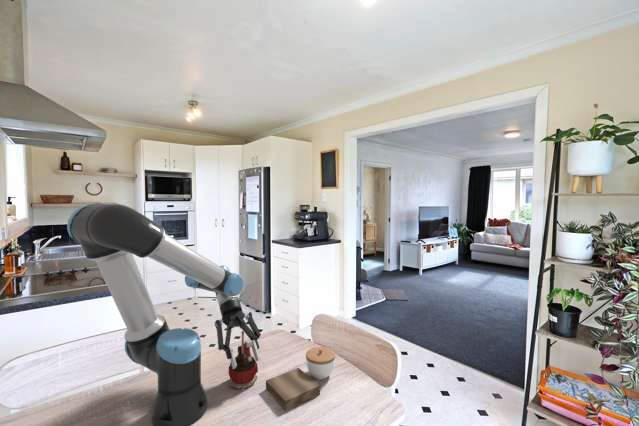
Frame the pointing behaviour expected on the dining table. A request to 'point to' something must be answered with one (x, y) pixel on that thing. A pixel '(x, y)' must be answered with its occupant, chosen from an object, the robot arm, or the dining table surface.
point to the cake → (243, 367)
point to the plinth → (292, 388)
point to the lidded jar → (320, 362)
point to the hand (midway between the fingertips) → (246, 363)
